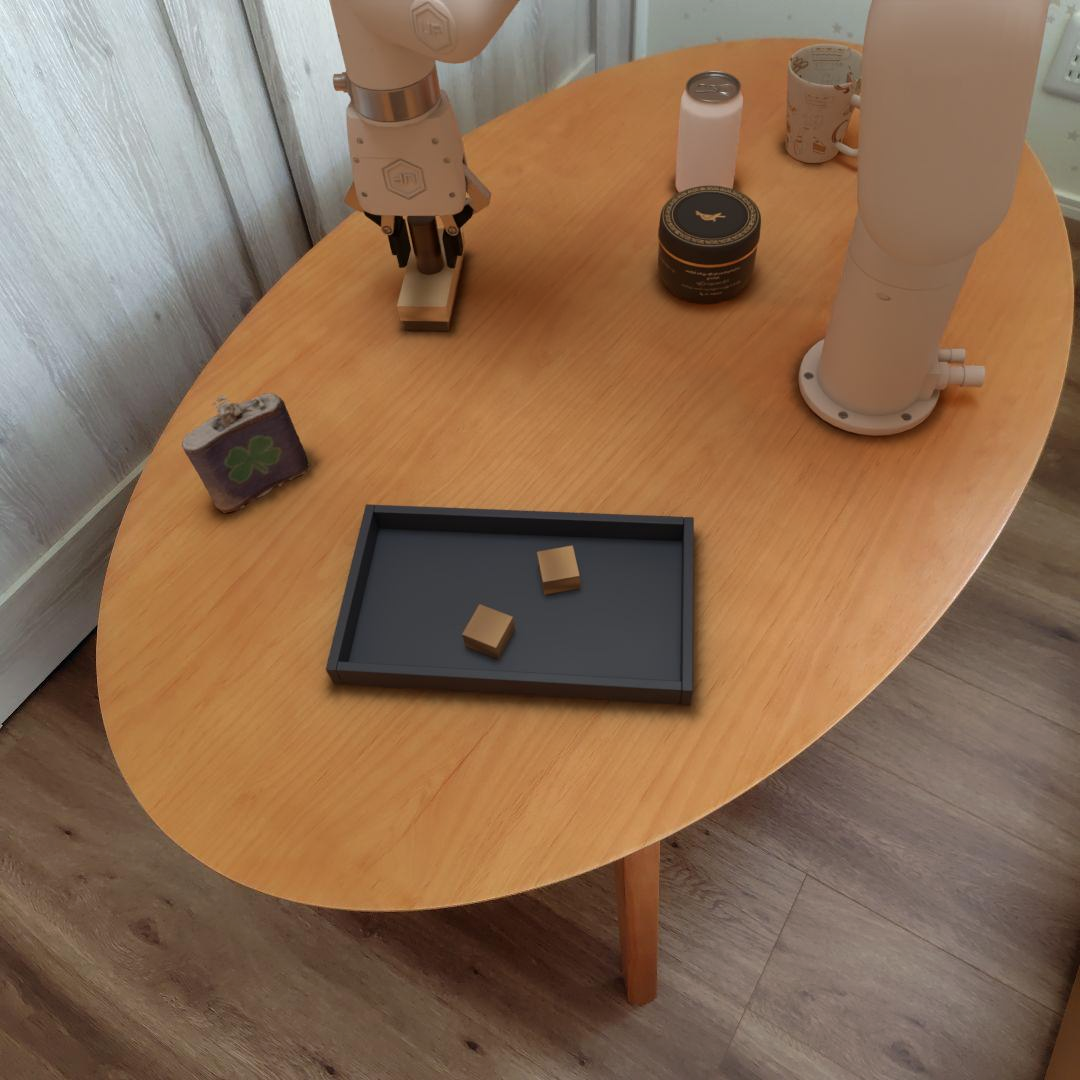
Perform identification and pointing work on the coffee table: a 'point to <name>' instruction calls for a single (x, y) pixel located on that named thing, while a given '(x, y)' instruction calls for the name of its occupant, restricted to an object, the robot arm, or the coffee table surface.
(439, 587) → the tray
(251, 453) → the flask
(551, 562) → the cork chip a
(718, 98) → the can
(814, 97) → the mug
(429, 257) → the brush
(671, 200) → the jar
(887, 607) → the coffee table surface
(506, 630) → the small wooden block
